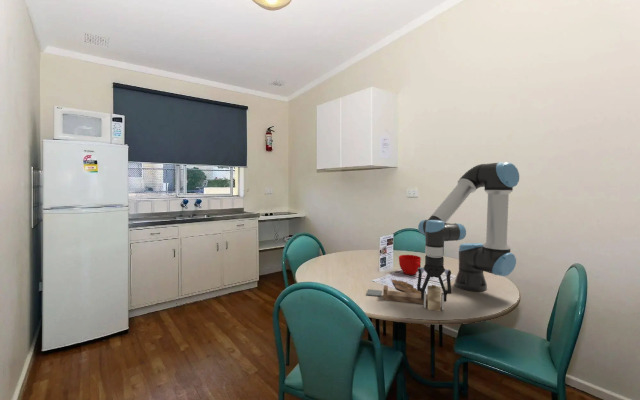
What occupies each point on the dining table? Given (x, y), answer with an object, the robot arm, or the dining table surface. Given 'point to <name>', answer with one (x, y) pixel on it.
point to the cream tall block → (433, 297)
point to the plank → (402, 296)
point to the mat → (374, 292)
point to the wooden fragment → (405, 287)
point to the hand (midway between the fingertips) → (433, 307)
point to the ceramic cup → (409, 263)
